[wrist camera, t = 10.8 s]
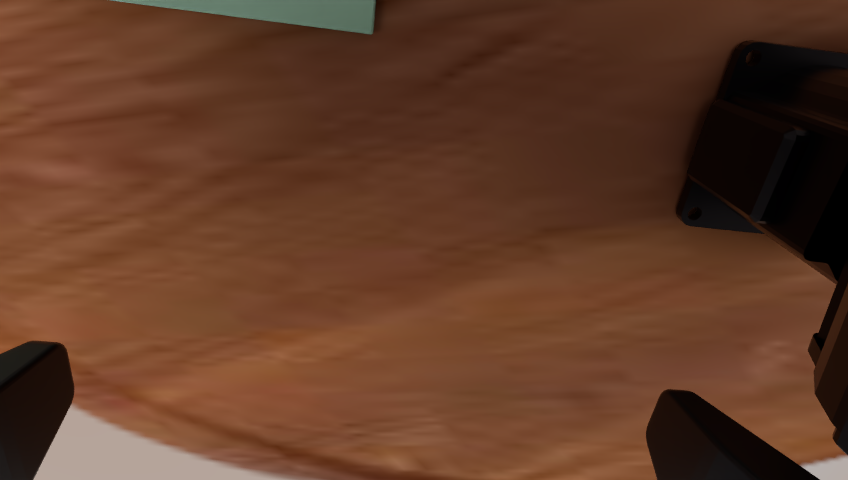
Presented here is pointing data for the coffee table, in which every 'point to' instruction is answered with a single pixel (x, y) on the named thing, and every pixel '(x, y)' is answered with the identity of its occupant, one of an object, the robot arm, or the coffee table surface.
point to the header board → (285, 11)
